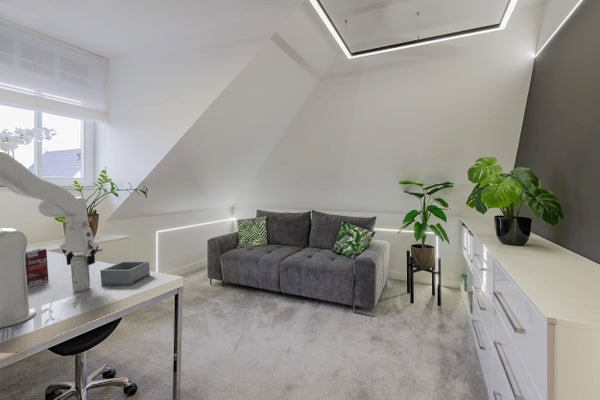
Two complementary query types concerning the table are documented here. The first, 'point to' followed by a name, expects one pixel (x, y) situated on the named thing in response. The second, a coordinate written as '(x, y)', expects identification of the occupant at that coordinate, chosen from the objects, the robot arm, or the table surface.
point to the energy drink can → (80, 273)
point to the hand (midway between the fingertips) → (81, 264)
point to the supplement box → (36, 267)
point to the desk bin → (124, 273)
